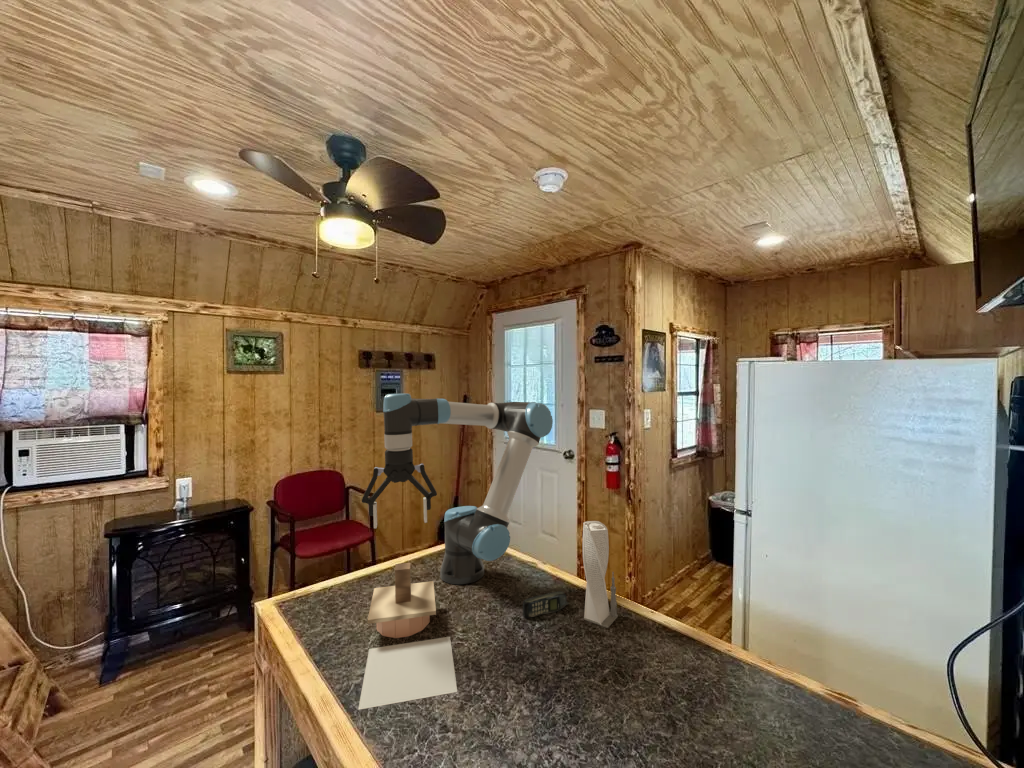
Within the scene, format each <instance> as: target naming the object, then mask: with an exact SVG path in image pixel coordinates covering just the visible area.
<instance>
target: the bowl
mask: <svg viewBox="0 0 1024 768" xmlns="http://www.w3.org/2000/svg"><path fill="white" fill-rule="evenodd" d="M430 618H431V617H430V615H429V616H422V617H415V618H408V619H401V620H393V621H386V622H379V623H375V624H376V631H377V632H378V633H379V634H380V635H381V636H382V637H388V638H391V639H392V638H394V639H399V638H406V637H411V636H413V635H415V634H417V633H420V632H422V631H423V630H425V628H426V627H427V626H428V625H429V623H430V621H431V620H430Z"/></svg>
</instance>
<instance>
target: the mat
mask: <svg viewBox="0 0 1024 768" xmlns="http://www.w3.org/2000/svg"><path fill="white" fill-rule="evenodd" d="M455 672H456V671H455V664H454V655H453V650H452V641H451V636H446V637H439V638H433V639H425V640H419V641H412V642H406V643H400V644H399V643H398V644H393V645H386V646H379V647H373V648H369V649H368V655H367V659H366V664H365V670H364V674H363V675H364V676H363V680H362V685H361V692H360V697H359V702H358V711H360V710H365V709H373V708H376V707H382V706H388V705H392V704H399V703H403V702H410V701H415V700H420V699H425V698H432V697H436V696H443V695H448V694H454V693H458V687H457V679H456V673H455Z"/></svg>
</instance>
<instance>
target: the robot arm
mask: <svg viewBox="0 0 1024 768" xmlns="http://www.w3.org/2000/svg"><path fill="white" fill-rule="evenodd" d="M382 412H383V427H384V432H383V433H384V434H383V435H384V448H385V451H384V463H385V464H384V467H378V466H375V467H374V468H373V471H372V477H371V480H370V481H369V483H368V485H367V488H366V490H365V492H364V493H363V496H362V498H361V503H362V504H367V505H368V514H369V516H370V517H371V516H372V517H373V529H377V527H378V506H377V499H378V497H380V495H381V494H382V493H383V492H384V490H385V489H386V488H387V487H388V485H390V483H391V482H392V483H394V484H395V483H399V482H400V483H406V482H407V481H409V482H410V483H411V484H412V485H413V486H414V487H415V488H416V489H417V490H418V491H419V492H420V493H421V494H422V495H423V522H424V524H426V523H428V511H430V510H431V509H432V504H431V503H432V501H431V499H432V498H433V497H436V496H437V495H438V492H437V490H436V488H435V486H434V485H433V483H432V481H431V479H430V477H429V476H428V474H427V472H426V470H425V464H424V463H423V462H422V463H421V462H420V464H415V465H414V458H413V457H414V454H413V453H414V451H413V449H412V447H413V427H417V426H427V425H439V424H442V425H443V424H445V425H446V424H447V425H448V424H449V425H461V426H462V425H466V426H482V427H484V426H485V427H486V428H487V429H488V430H498V431H503V432H506V434H507V436H508V438H509V439H508V442H507V444H506V447H505V449H504V451H503V454H502V456H501V460H500V462H499V465H498V467H497V469H496V472H495V474H494V477H493V479H492V481H491V484H490V487H489V489H488V492H487V495H486V496H485V499H484V501H483V503H482V505H481V506H479V507H477V506H475V505H463V506H457V507H453V508H449V509H447V510H446V511H445V513H444V517H443V518H444V521H443V523H444V556H443V559H442V563H441V567H440V569H439V571H440V573H439V575H440V576H439V577H440V579H441V580H442V581H443V582H445V583H448V584H450V585H467V584H471V583H475V582H477V581H479V580H480V579H482V578H483V577H484V575H485V566H484V562H483V561H487V562H492V561H496V560H498V558H501V557H502V556H503V555H504V554H505V553H506V551H507V550H508V549H509V546H510V543H511V534H510V531H509V529H508V527H509V524H510V520H509V517H508V514H509V512H510V509H511V506H512V504H513V501H514V499H515V495H516V493H517V491H518V488H519V484H520V482H521V479H522V478H523V474H524V471H525V468H526V466H527V463H528V460H529V458H530V455H531V453H532V451H533V448H535V447H537V446H539V444H540V441H541V439H542V438H544V437H547V436H548V435H549V434H550V432H551V431H552V429H553V420H554V419H553V416H552V412H551V410H550V409H549V407H548V406H547V405H546V404H544V403H541V402H537V401H531V402H528V401H509V402H489V403H487V404H481V403H480V404H479V403H478V404H477V403H469V402H456V401H448V400H447V399H445V398H436V397H435V398H412V395H411V393H388V394H386V395H385V396H384V397H383V409H382ZM415 471H417V472H418V473H420V474H421V477H422V478H423V481H424V482H425V484H426V485H427V487H428V489H429V490H430V491H428V490H427V489H426V488H425V487H424V486H423V485H422V484H421V483H420V482H419V481H418V480H417V478H415V476H414V475H413V474H414V472H415ZM382 473H384V475H385V476H386V478H385V479H384V480H383V482H382V483H381V484H380V485H379V486H378V488H377V489H376V491H375V492H374V493H373V494H372V495H371V496H370V494H371V492H372V490H373V487H374V486H375V483H376V482H377V479H378V477H381V474H382Z"/></svg>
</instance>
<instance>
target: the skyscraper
mask: <svg viewBox="0 0 1024 768" xmlns="http://www.w3.org/2000/svg"><path fill="white" fill-rule="evenodd" d="M582 523H583V526H582V561H583V569H584V575H585V579H586V585H585V587H586V588H585V601H584V617H583V621H584V620H585V621H587V622H590V623H593V624H595V625H598V626H600V627H604V628H606V629H609V628H610V626H611V625H612V624H613V623H614V622H615V620H616V619H618V617H619V614H618V612H617V606H618V602H617V594H616V593H617V591H616V590H617V587H616V586H615V585H616V584H615V576H614V575H615V574H614V573H615V572H614V571H612V572H611V573H612V576H611V586H610V587H609V588H610V604H609V597H608V591H607V586H606V580H605V579H606V578H605V577H606V573H607V569H608V563H609V553H610V550H609V549H610V546H609V545H610V544H609V542H610V541H609V529H608V528H607V526H606V525H605V524H604V523H602V522H601V521H599V520H588V521H584V522H582ZM609 605H610V607H609Z"/></svg>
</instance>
